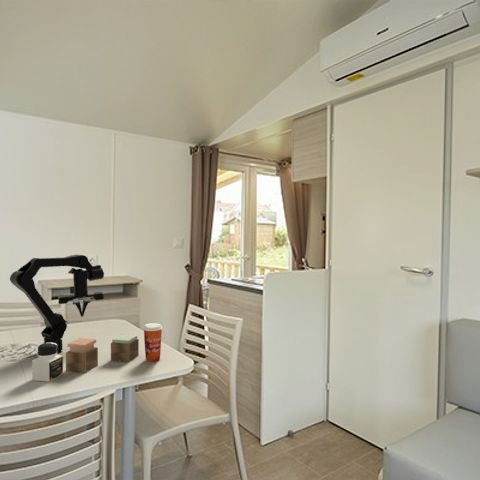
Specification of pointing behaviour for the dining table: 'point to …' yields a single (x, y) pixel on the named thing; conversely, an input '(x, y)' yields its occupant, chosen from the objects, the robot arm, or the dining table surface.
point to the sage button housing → (124, 351)
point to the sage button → (124, 339)
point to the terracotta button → (81, 345)
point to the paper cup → (152, 341)
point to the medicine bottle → (47, 363)
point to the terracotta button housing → (81, 361)
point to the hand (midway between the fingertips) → (82, 316)
